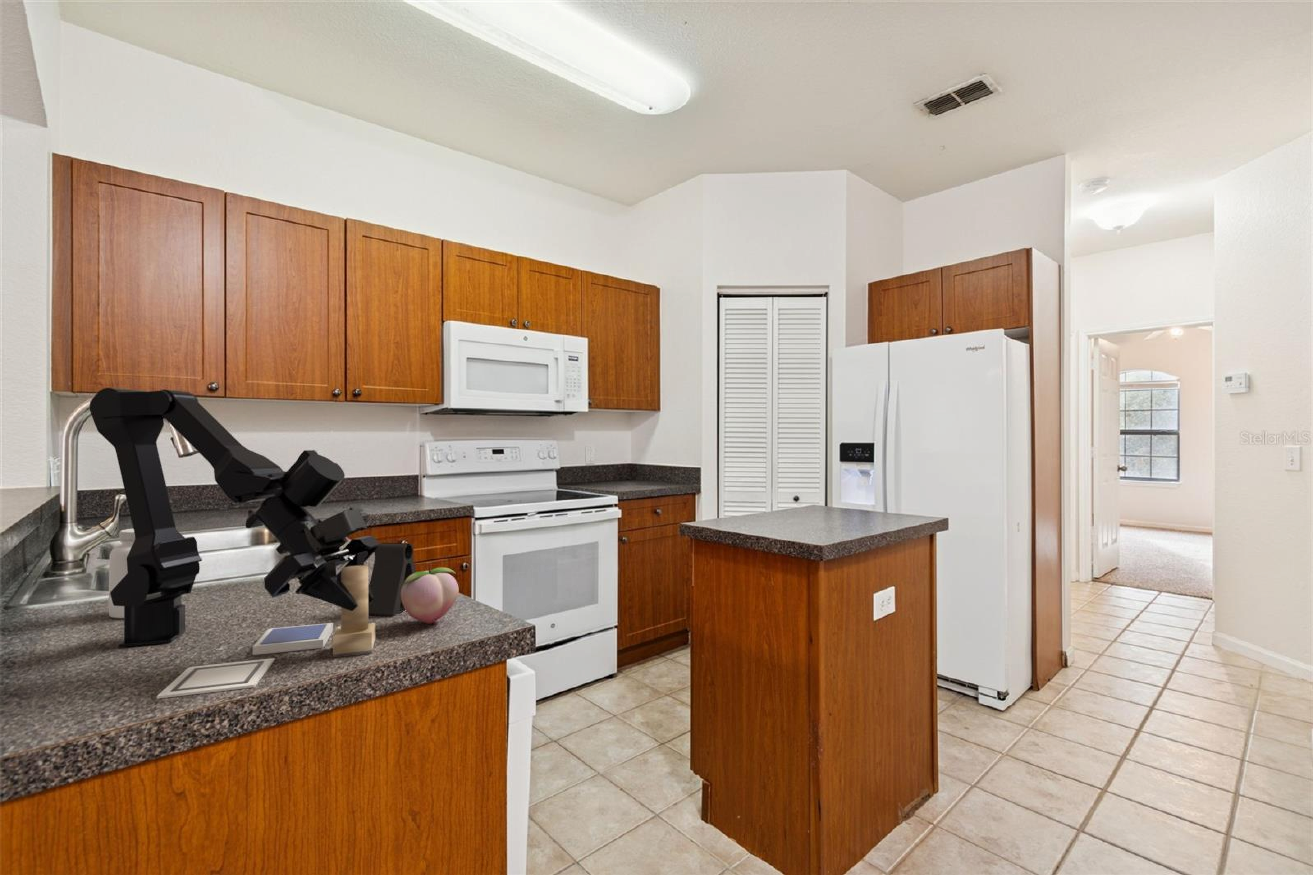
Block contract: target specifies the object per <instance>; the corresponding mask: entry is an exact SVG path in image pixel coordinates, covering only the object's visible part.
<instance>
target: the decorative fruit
mask: <svg viewBox="0 0 1313 875" xmlns="http://www.w3.org/2000/svg"><path fill="white" fill-rule="evenodd" d="M431 565H432V564H431V563H428V570H424V571H416V573H413V574H411V575H410V576H409V577H408V578H407V579H406V580H405V582H404V584H403V587H402V589H401V600H402V604H403V606H404V608H405V610H406V611H405V612H406V613H407V614H408V615H409V616H410V617H411V618H413V619H414V620H416V621H419V622H421V623H426V624H428V625H430V624H433V623H435V622H437V621H439V620H440V619H441V618H442V617H444V616H445V615H446V614H447V613H448V612H449V611H450V610H451V609H452V607H453V606H454V605H455V603H456V601H457V599H458V596H459V592H460V590H459V585H458V581H457V580H456V579H455V577H454V576H453V575H451V574H454V575H456V574H457V573H456V572H455V571H454V570H452V569H451V568H449V567H436V568H433V569H432V568H431ZM450 573H451V574H450Z"/></svg>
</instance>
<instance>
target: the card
mask: <svg viewBox="0 0 1313 875" xmlns="http://www.w3.org/2000/svg"><path fill="white" fill-rule="evenodd" d="M275 659H276V658H274V657H272V658H265V659H253V660H245V661H233V662H224V663H216V664H214V663H213V664H207V665H196V666H189V667H187V668H185V670H184V671H183V672H182V673H180V675H178V676H177V677H176V678H175V679H174V680H173V681H171V683H170V684H169V685H167V686H166V687H165V688H164V689H163V690H162V691H161V692H160V693H159V694H158V695H157V696H156V700H157V699H158V700H159V699H166V698H173V697H175V698H177V697H183V696H191V695H192V696H193V695H199V694H208V693H217V692H224V691H225V692H226V691H233V690H240V689H241V690H242V689H250V688H251V689H252V688H255V687H256V686H257V685H258V683H259V682H260V681H261V679H262V678H263V676H265V674H266V673H267V671H268V670H269V669H270V667H271V666H272V665H273V663H274V662H275Z"/></svg>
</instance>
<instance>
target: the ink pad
mask: <svg viewBox="0 0 1313 875" xmlns="http://www.w3.org/2000/svg"><path fill="white" fill-rule="evenodd" d="M333 631H334V623H333V622H329V623H318V624H317V623H316V624H305V625H294V626H284V627H272V628H268V629H267V630H266V631H265V632H264V633H263V635H262V636H260V638H259V639H258V640H257V641H256V642H255V643H254V645H253V646H252V656H258V655H266V654H267V655H268V654H275V653H277V654H278V653H284V652H293V651H296V652H297V651H305V650H306V651H307V650H314V649H315V650H316V649H324V647H325V646H326V643H327V642H328V640H329V638H330V636H331V635H332V633H333Z"/></svg>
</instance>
